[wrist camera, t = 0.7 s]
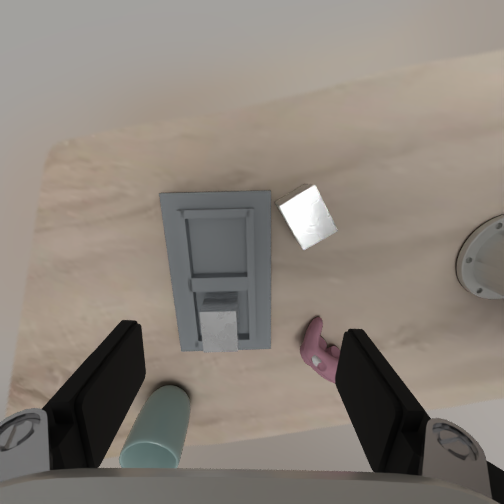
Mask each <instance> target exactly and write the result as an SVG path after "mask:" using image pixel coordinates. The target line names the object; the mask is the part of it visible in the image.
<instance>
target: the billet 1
mask: <svg viewBox="0 0 504 504" xmlns="http://www.w3.org/2000/svg"><path fill="white" fill-rule="evenodd" d="M199 313H200V323H201V333H202V342H203V352H233V351H238V343H239V308H238V292H228V293H206V296H205V298H204V301H203V304H202V306H201V309H200V312H199Z"/></svg>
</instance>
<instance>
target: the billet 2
mask: <svg viewBox="0 0 504 504" xmlns="http://www.w3.org/2000/svg"><path fill="white" fill-rule="evenodd" d="M275 204H276V206H277V208H278V210H279V211H280V213H281V215H282V217H283V218H284V220H285V222H286V224H287V225H288V227H289V229H290V231H291V232H292V234H293V236H294V238H295V239H296V241H297V242H298V243H299V245H300V246H301V247H302V249H303V250H305V249H307V248H309V247H310V246H312V245H314V244H316V243H317V242H319V241H321V240H323V239H325V238H326V237H328V236H330V235H332V234H333V233H335V232H337V231H338V230H337V228H336V226H335V224H334V222H333V220H332V218H331V216H330V214H329V212H328V210H327V208H326V206H325V204H324V202H323V200H322V198H321V196H320V194H319V192H318V190H317V188H316V186H315V185H312V184H303V185H302V186H300V187H298V188H297V189H295V190H293V191H292V192H290V193H289V194H287V195H285V196H284V197H282V198H280V199H279V200H277V201H275Z"/></svg>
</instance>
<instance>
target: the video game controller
mask: <svg viewBox="0 0 504 504" xmlns="http://www.w3.org/2000/svg"><path fill="white" fill-rule="evenodd" d="M322 327H323V322H322V319H321V318H320V317H316V318H315V319H313V320H312V322H311V323H310V324H309V326H308V328H307V331H306V333H305V337H304V341H303V343H302V345H301V346H300V354H301V357H302V359H303V360H304V362H305V363H306V364H307V365H309V366H311V367H312V368H313V369H314V370H315V371H316V372H317V373H318V374H319V375H321V376H322V377H323V378H325V379H326V380H328V381H330V382H333V383H335V375H336V370H337V365H338V361H339V356H340V350H339V349H338V348H337V347H336V346H331V347H329V348H327V344H326V342H325V340H324V339H323V338H322V337H321V336H320V334H321V331H322ZM326 348H327V349H326ZM325 351H326V352H325Z"/></svg>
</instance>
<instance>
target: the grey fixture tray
mask: <svg viewBox="0 0 504 504" xmlns="http://www.w3.org/2000/svg"><path fill="white" fill-rule="evenodd" d="M159 196H160V203H161V210H162V218H163V225H164V232H165V239H166V246H167V253H168V260H169V268H170V275H171V282H172V289H173V296H174V303H175V310H176V318H177V325H178V332H179V339H180V346H181V351H203V342H202V333H201V323H200V313H199V312H200V309H201V306H202V304H203V301H204V298H205V296H206V293H228V292H238V308H239V343H238V350H248V349H271V191H270V190H264V191H224V192H184V193H159Z"/></svg>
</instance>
